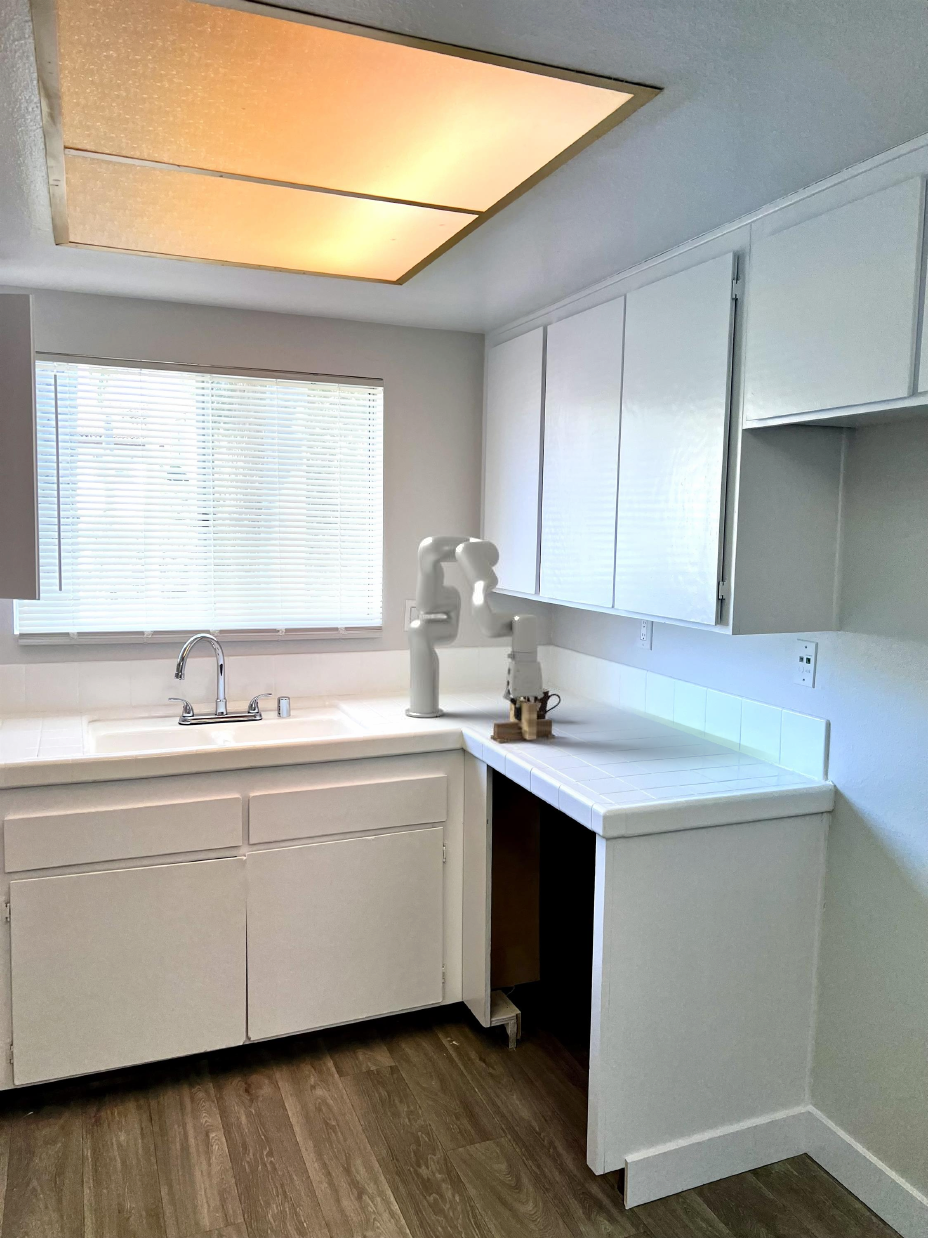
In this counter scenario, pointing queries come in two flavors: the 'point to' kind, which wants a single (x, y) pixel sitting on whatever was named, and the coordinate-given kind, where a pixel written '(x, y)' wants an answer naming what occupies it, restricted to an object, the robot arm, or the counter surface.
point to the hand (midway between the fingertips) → (522, 719)
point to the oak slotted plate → (526, 718)
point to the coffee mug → (544, 704)
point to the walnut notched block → (520, 731)
